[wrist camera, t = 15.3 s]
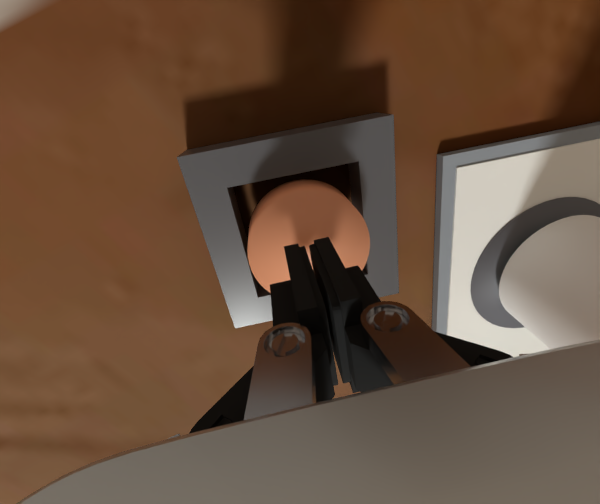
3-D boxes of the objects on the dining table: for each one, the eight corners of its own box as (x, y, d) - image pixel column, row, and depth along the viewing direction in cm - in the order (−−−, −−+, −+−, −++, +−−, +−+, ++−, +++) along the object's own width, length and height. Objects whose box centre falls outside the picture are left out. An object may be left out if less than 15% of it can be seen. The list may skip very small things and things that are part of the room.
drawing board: (436, 154, 16) (445, 156, 15) (677, 105, 16) (696, 106, 16) (430, 374, 23) (435, 383, 23) (596, 336, 24) (607, 344, 23)
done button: (235, 191, 14) (232, 206, 12) (351, 168, 14) (365, 179, 12) (262, 289, 16) (263, 313, 14) (360, 268, 16) (373, 289, 14)
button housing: (186, 149, 14) (176, 157, 13) (376, 112, 15) (393, 114, 13) (237, 306, 19) (235, 328, 17) (385, 274, 19) (398, 292, 17)
